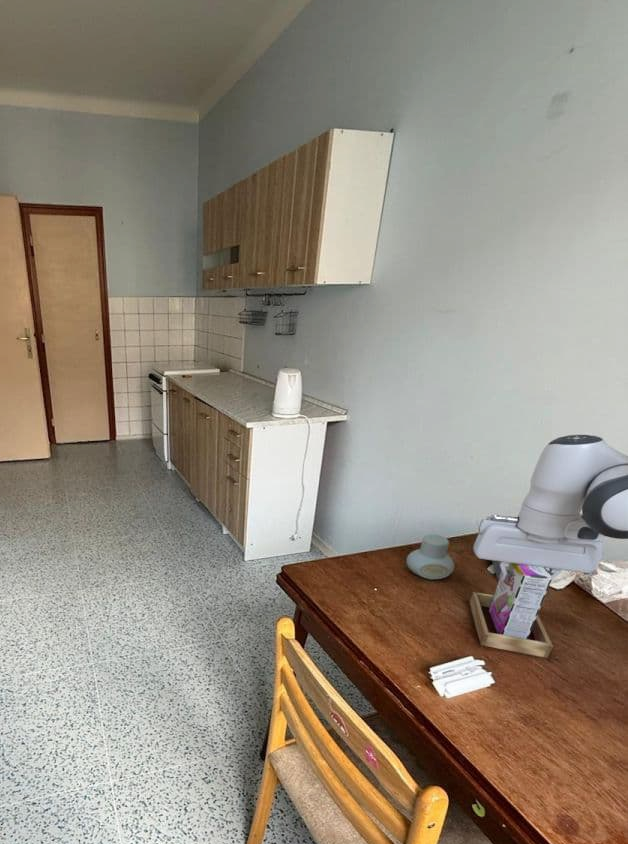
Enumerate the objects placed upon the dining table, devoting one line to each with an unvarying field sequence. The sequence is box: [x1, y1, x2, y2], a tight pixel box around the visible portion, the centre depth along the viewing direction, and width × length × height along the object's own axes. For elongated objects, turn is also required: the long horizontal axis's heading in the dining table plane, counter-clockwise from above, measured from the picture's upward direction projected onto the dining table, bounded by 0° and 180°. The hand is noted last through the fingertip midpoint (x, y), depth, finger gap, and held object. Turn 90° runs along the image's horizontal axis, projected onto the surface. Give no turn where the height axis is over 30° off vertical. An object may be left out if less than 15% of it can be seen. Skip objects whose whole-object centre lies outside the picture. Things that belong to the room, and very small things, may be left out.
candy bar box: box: [488, 563, 553, 640], centre depth 98 cm, size 11×5×16 cm, turn 161°
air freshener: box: [406, 534, 455, 581], centre depth 120 cm, size 11×8×10 cm
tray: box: [468, 591, 554, 659], centre depth 101 cm, size 12×17×3 cm
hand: (522, 582), depth 96 cm, fingers closed on candy bar box, 5 cm apart
